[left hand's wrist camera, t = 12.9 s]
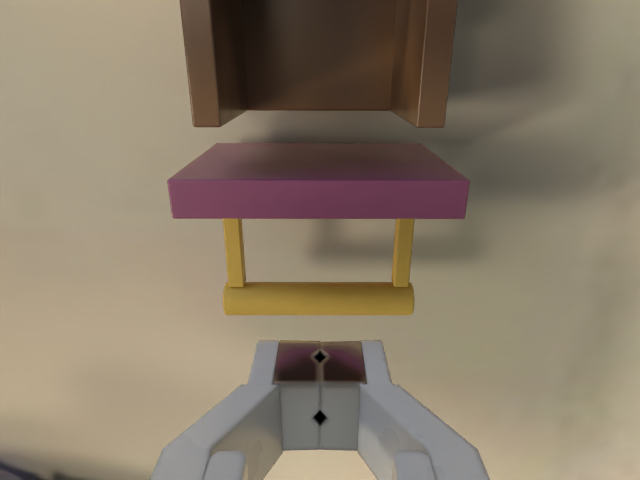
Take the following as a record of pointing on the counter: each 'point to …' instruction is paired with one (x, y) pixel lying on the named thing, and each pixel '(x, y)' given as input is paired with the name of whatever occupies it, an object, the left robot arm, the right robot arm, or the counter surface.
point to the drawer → (318, 158)
